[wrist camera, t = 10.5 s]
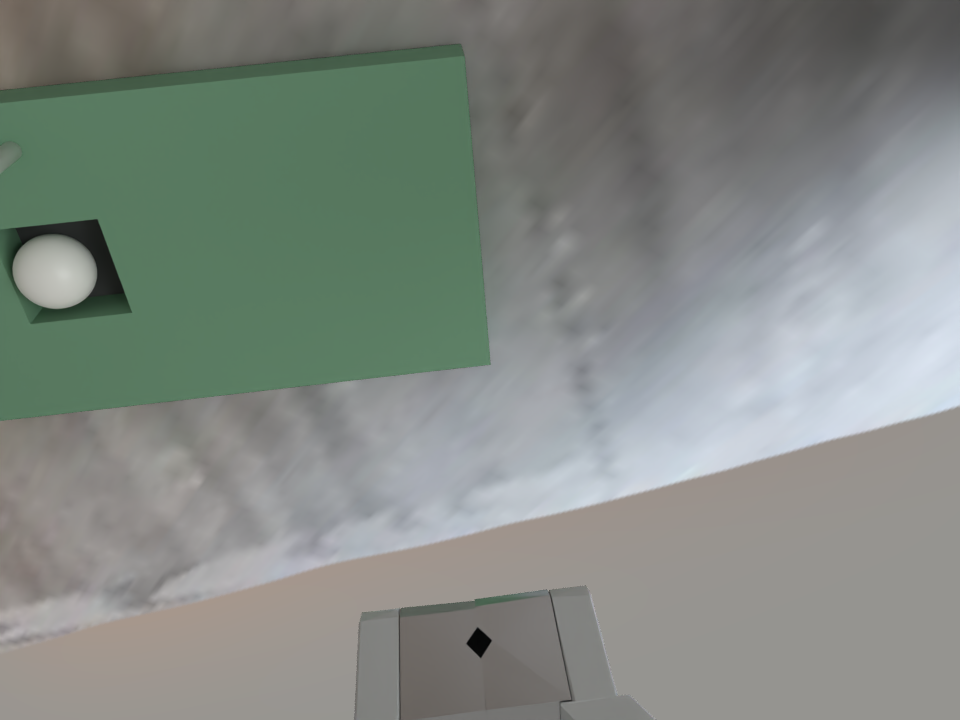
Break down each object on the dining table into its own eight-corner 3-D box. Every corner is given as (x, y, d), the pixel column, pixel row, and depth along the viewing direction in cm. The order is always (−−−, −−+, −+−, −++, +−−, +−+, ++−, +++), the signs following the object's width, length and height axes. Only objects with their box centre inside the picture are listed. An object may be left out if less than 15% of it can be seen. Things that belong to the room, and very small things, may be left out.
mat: (460, 43, 36) (501, 166, 22) (485, 340, 45) (526, 560, 31) (-166, 107, 35) (-529, 276, 21) (-14, 397, 44) (-202, 649, 30)
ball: (90, 237, 37) (6, 261, 35) (116, 304, 39) (37, 330, 37) (72, 215, 39) (-7, 237, 38) (97, 279, 41) (23, 303, 40)
